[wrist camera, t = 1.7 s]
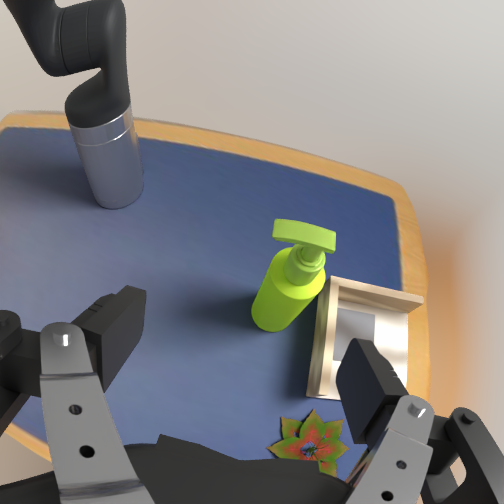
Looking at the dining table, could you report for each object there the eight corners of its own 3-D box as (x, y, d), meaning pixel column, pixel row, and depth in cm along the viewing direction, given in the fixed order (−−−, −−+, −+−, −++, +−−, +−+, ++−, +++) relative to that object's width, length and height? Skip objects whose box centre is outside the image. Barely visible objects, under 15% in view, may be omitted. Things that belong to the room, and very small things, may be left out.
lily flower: (343, 486, 31) (357, 492, 27) (258, 486, 30) (264, 495, 26) (352, 409, 37) (368, 407, 33) (270, 404, 36) (277, 403, 32)
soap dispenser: (248, 286, 43) (279, 197, 26) (295, 297, 43) (353, 217, 26) (240, 325, 40) (268, 255, 23) (289, 336, 40) (352, 275, 23)
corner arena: (318, 289, 45) (331, 275, 40) (405, 307, 45) (423, 296, 41) (305, 396, 37) (318, 394, 32) (402, 403, 37) (422, 400, 33)
